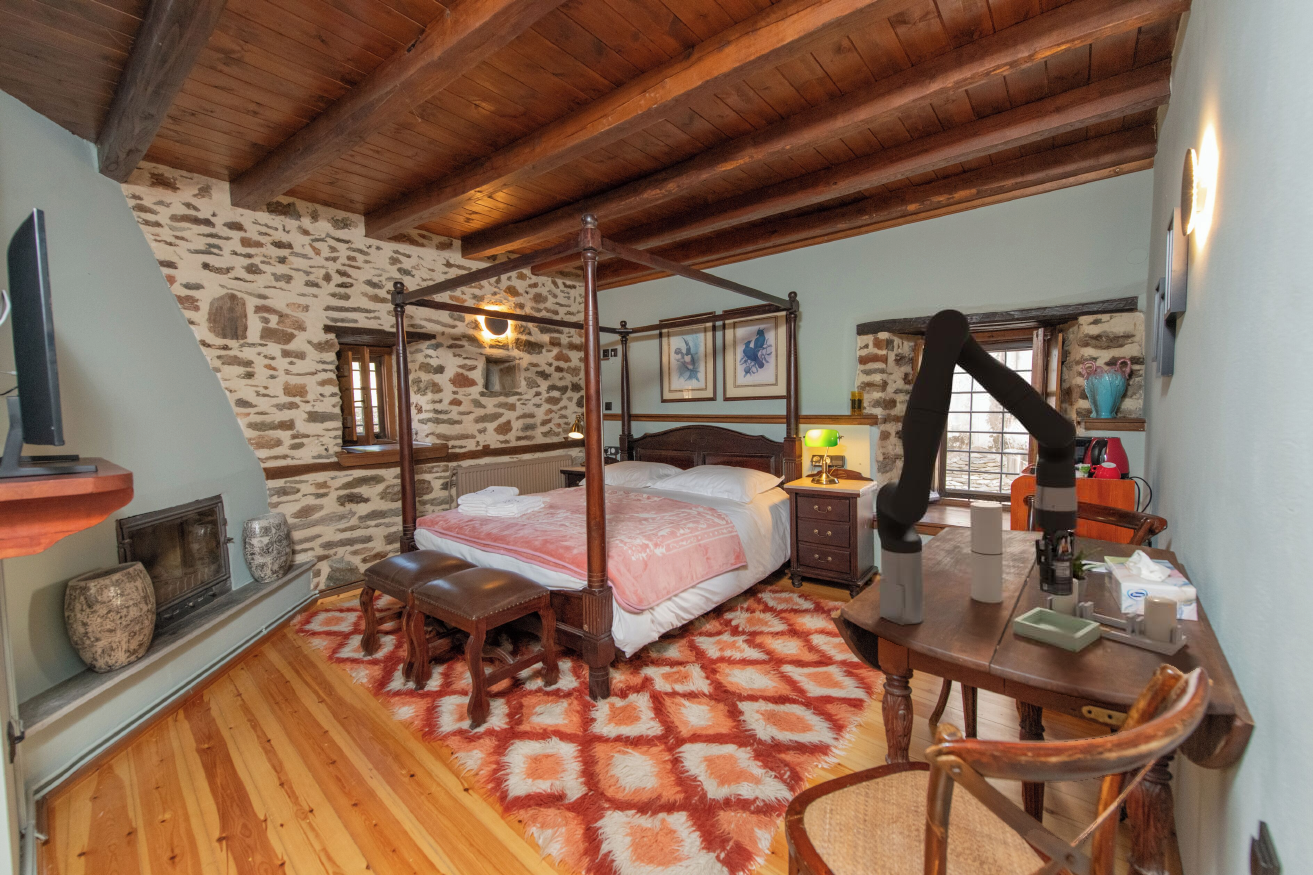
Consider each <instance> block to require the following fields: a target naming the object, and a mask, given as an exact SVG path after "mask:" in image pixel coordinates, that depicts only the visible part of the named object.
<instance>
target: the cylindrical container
mask: <svg viewBox="0 0 1313 875" xmlns="http://www.w3.org/2000/svg"><path fill="white" fill-rule="evenodd" d="M969 506H970V514H969V515H970V516H969V517H970V518H969V519H970V597H971V598H972V599H973V600H975V601H979V602H983V603H988V604H989V603H991V604H997V603H1002V602H1003V601H1004V600H1003V595H1004V592H1003V591H1004V590H1003V588H1004V587H1003V586H1004V585H1003V579H1004V578H1003V572H1004V571H1003V570H1004V569H1003V566H1004V565H1003V560H1004V559H1003V550H1004V549H1003V546H1004V545H1003V504H1001V503H997V502H992V501H991V502H990V501H976V502H975V501H973V502H970V504H969Z"/></svg>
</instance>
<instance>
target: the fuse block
mask: <svg viewBox="0 0 1313 875" xmlns="http://www.w3.org/2000/svg"><path fill="white" fill-rule="evenodd" d="M1094 604H1095V603H1094V602H1092V601H1088V602H1084V601H1083V602H1082V603H1078V580H1076V579H1074V578H1073V594H1072V595H1069V596H1054V595H1051V596H1049V597H1046V609H1047V610H1051V611H1055V612H1059V613H1063V614H1066V615H1070V616H1074V617H1078V618H1082V619H1085V620H1089V621H1093V622H1097V623H1100V624H1105V625H1109V626H1113V627H1116V628H1120V629H1125V630H1126V632H1125V634H1124V633H1120V632H1117V631H1113V630H1112V629H1109V628H1105V627H1102V626H1100V637H1103V638H1106V639H1110V640H1114V641H1118V642H1119V643H1124V644H1128V645H1132V646H1134V647H1139V648H1142V649H1146V650H1149V651H1153V652H1157V653H1159V654H1163V655H1164V654H1165V655H1167V656H1174V655H1175V654H1176V653H1177V652H1178V651H1179V650H1181V649H1182V648H1183V647H1184V646H1185V645H1186V644H1187V636H1186V635H1183V625H1180V624H1178V621H1177V620H1178V618H1177V616H1178V602H1177V601H1176V600H1174V599H1172V598H1169V597H1164V596H1156V595H1146V596H1144V597H1143V615H1141V616H1139V617H1138V612H1136V611H1132V612H1130V613H1128V614H1127V615H1126V616H1125V618H1126V619H1125V620H1123V619H1118V618H1113V617H1111V616H1106V615H1102V614H1097V613H1095V612H1094V609H1095V608H1094V607H1095V606H1094Z"/></svg>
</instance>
